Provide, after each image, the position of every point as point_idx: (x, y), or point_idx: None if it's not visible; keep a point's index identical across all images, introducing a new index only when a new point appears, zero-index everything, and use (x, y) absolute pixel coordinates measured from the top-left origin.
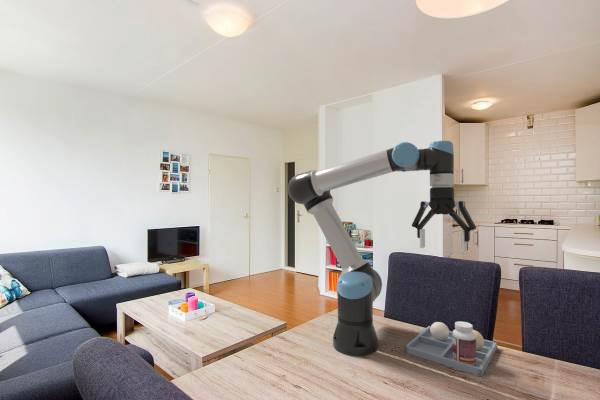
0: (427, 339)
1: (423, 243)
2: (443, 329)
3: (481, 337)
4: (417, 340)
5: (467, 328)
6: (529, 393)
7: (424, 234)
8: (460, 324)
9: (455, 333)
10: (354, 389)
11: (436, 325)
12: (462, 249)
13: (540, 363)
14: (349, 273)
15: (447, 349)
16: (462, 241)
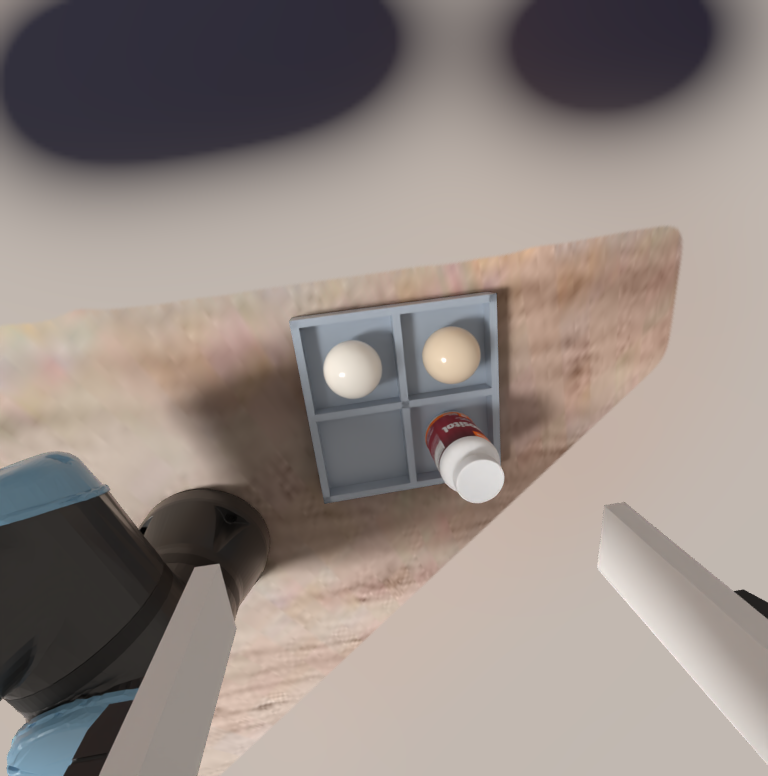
0: (340, 417)
1: (216, 640)
2: (374, 388)
3: (479, 360)
4: (319, 434)
5: (495, 494)
6: (570, 444)
7: (160, 741)
8: (474, 490)
9: (456, 490)
10: (337, 648)
11: (352, 393)
12: (619, 583)
13: (583, 286)
14: (32, 769)
15: (410, 439)
16: (683, 653)
